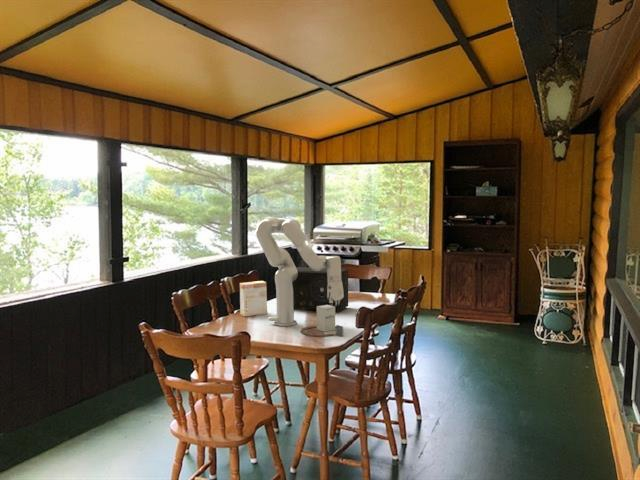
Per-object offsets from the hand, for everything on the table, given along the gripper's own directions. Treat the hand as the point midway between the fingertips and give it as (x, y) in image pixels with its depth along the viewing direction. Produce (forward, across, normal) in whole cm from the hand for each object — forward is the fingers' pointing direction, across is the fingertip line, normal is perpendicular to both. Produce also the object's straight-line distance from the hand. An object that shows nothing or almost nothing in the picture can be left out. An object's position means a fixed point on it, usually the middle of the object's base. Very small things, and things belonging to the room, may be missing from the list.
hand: (335, 312), depth 294 cm
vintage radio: (+7, +33, +36) cm, 49 cm away
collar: (+8, -14, -1) cm, 16 cm away
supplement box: (+8, -9, +1) cm, 12 cm away
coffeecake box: (+6, +2, +60) cm, 60 cm away
